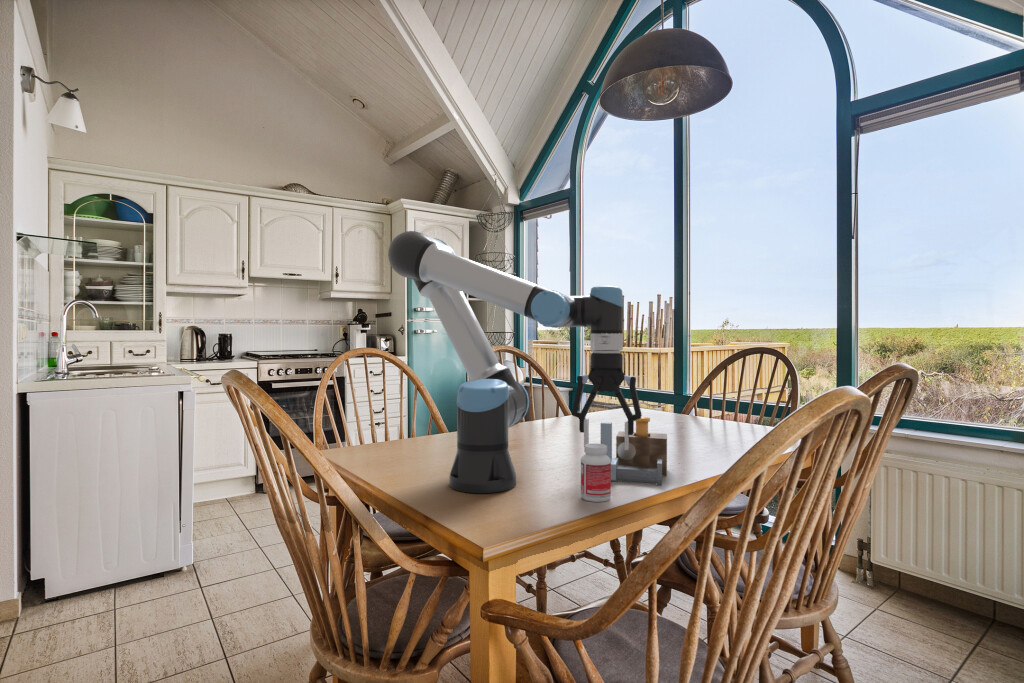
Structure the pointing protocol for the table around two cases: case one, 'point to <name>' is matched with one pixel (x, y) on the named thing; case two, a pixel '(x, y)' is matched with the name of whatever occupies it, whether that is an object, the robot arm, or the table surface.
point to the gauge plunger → (642, 426)
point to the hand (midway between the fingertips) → (606, 447)
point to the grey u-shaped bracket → (640, 474)
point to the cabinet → (642, 450)
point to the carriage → (609, 445)
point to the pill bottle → (595, 473)
